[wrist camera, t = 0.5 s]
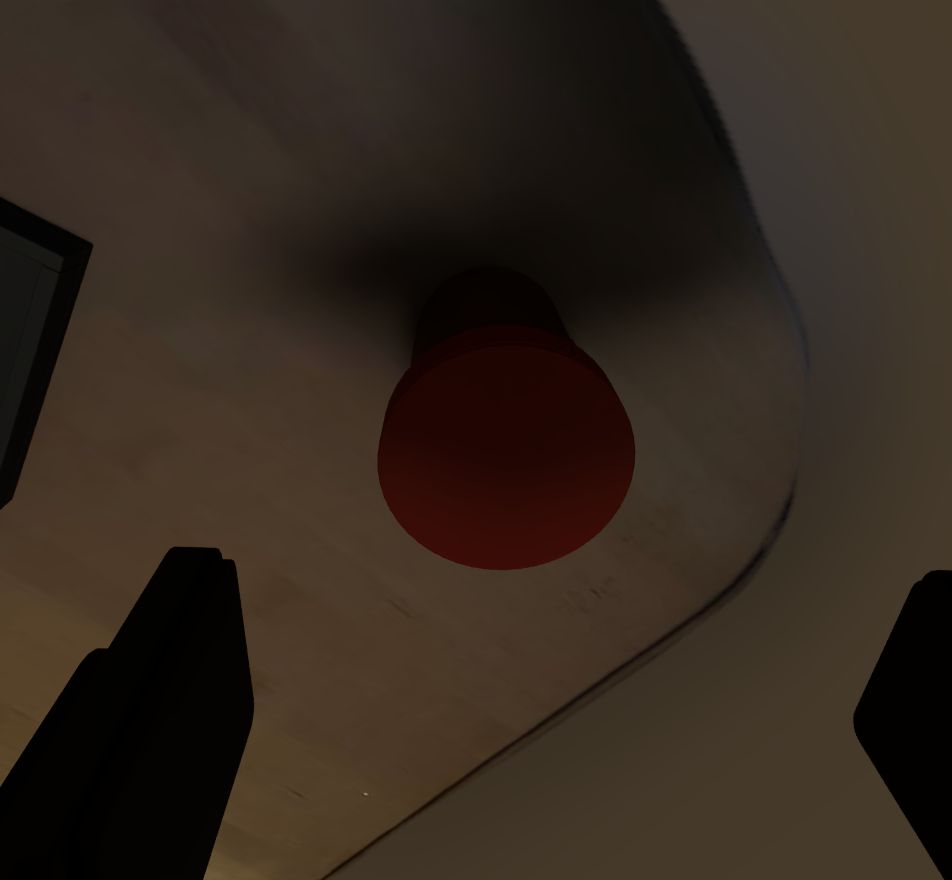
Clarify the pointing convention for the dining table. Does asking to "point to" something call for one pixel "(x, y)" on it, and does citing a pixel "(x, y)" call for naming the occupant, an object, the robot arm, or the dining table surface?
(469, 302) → the jar
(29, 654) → the dining table surface
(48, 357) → the tray
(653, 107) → the dining table surface
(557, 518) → the jar lid
